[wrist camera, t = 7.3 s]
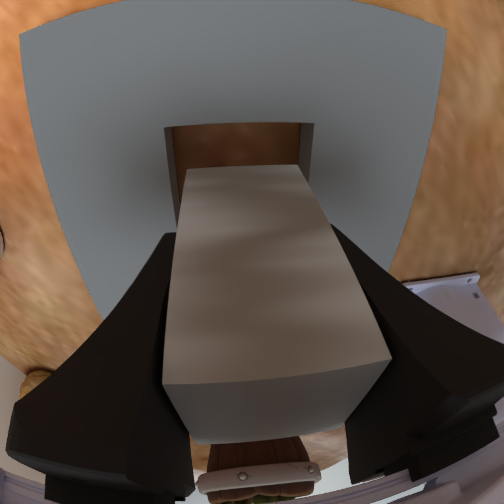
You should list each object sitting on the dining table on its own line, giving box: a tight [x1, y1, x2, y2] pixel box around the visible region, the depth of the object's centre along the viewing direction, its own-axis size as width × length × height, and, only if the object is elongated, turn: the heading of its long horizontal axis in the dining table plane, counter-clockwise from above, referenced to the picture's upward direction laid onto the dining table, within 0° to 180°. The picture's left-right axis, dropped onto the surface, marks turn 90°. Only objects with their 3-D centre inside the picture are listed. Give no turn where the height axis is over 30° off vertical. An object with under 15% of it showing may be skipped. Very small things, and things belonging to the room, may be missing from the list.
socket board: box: [19, 0, 447, 320], centre depth 14 cm, size 18×17×2 cm
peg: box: [162, 165, 392, 444], centre depth 9 cm, size 4×4×8 cm
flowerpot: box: [195, 436, 321, 504], centre depth 28 cm, size 14×15×20 cm
